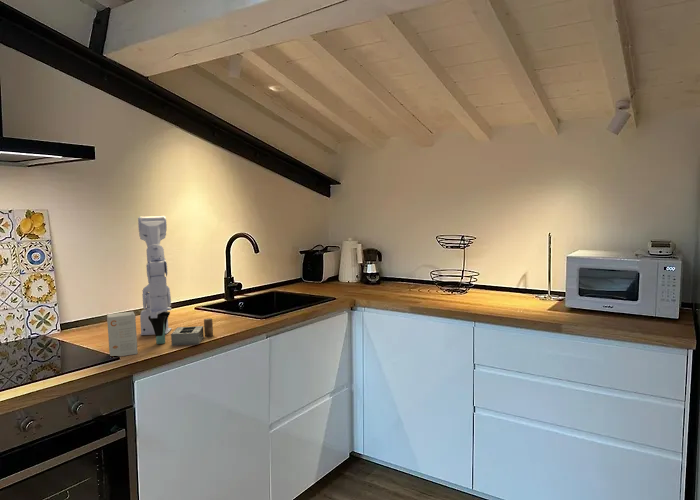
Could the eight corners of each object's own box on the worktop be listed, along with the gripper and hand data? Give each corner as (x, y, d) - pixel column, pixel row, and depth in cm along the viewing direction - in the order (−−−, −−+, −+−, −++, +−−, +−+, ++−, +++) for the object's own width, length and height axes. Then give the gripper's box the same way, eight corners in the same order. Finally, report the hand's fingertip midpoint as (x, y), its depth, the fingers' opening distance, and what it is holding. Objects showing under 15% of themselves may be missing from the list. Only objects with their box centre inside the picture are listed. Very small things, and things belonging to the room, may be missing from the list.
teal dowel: (155, 344, 172) (154, 321, 172) (157, 341, 175) (156, 319, 175) (164, 343, 173) (163, 320, 172) (166, 341, 176) (165, 318, 175)
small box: (135, 349, 167) (133, 311, 166) (137, 354, 161) (135, 314, 160) (109, 353, 163) (106, 313, 162) (110, 358, 157) (107, 317, 156)
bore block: (171, 345, 171) (171, 334, 170) (178, 338, 180) (177, 327, 180) (198, 344, 172) (198, 332, 171) (203, 337, 182) (203, 326, 181)
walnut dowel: (203, 336, 182) (203, 320, 182) (205, 334, 185) (204, 318, 185) (212, 336, 182) (211, 320, 182) (213, 334, 185) (212, 318, 185)
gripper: (165, 298, 166) (167, 339, 167) (175, 291, 180) (176, 328, 181) (143, 299, 165) (145, 340, 166) (154, 292, 179) (156, 329, 181)
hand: (160, 334), depth 174 cm, fingers closed on teal dowel, 3 cm apart
